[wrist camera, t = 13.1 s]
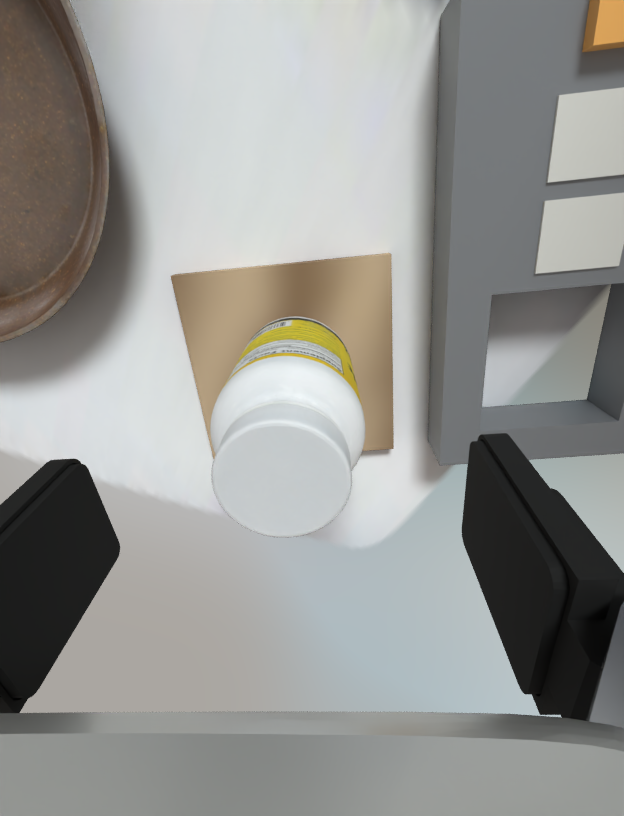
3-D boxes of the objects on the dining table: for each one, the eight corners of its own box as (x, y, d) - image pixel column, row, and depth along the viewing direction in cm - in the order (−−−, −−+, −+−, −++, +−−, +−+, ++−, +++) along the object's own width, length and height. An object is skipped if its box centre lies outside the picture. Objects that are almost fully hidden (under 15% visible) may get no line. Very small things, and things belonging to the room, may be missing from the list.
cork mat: (389, 253, 18) (391, 254, 18) (391, 443, 22) (393, 448, 22) (175, 274, 19) (170, 275, 18) (216, 455, 23) (214, 461, 23)
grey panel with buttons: (729, -24, 14) (829, -83, 11) (615, 427, 22) (658, 458, 19) (440, 15, 15) (468, -32, 12) (427, 440, 22) (443, 472, 20)
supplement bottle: (331, 428, 22) (338, 575, 13) (233, 398, 21) (167, 532, 12) (368, 333, 19) (407, 432, 10) (259, 298, 19) (202, 369, 10)
